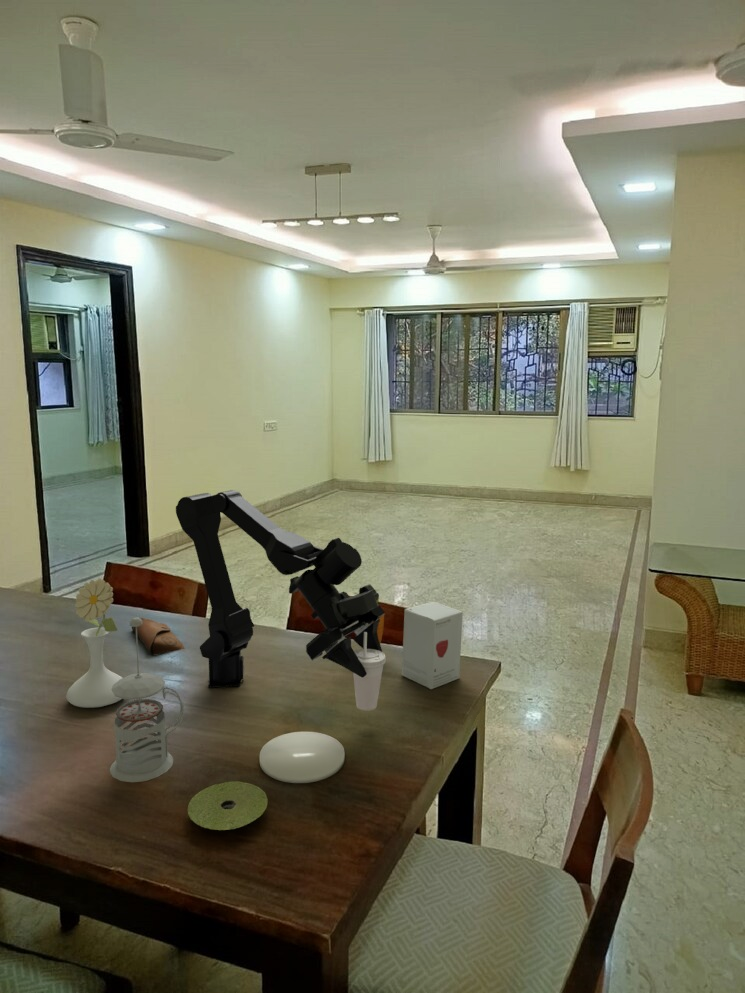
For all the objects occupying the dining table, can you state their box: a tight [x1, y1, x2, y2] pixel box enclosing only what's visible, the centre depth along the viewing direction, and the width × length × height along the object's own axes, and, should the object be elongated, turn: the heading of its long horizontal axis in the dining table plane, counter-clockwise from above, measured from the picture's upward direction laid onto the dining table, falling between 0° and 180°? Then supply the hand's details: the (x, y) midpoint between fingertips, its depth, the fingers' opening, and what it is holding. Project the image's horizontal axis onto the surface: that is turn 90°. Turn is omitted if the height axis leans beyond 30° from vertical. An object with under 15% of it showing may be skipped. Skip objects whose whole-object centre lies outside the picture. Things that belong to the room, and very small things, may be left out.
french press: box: [109, 616, 185, 783], centre depth 110 cm, size 10×12×25 cm
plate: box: [259, 731, 346, 784], centre depth 114 cm, size 14×14×1 cm
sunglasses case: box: [131, 617, 185, 656], centre depth 164 cm, size 18×7×7 cm, turn 32°
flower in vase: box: [65, 578, 123, 709], centre depth 131 cm, size 13×11×25 cm
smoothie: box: [352, 632, 386, 711], centre depth 124 cm, size 6×6×14 cm
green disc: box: [187, 781, 268, 831], centre depth 99 cm, size 11×11×2 cm
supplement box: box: [401, 601, 464, 690], centre depth 145 cm, size 9×9×15 cm
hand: (374, 669), depth 123 cm, fingers closed on smoothie, 6 cm apart
